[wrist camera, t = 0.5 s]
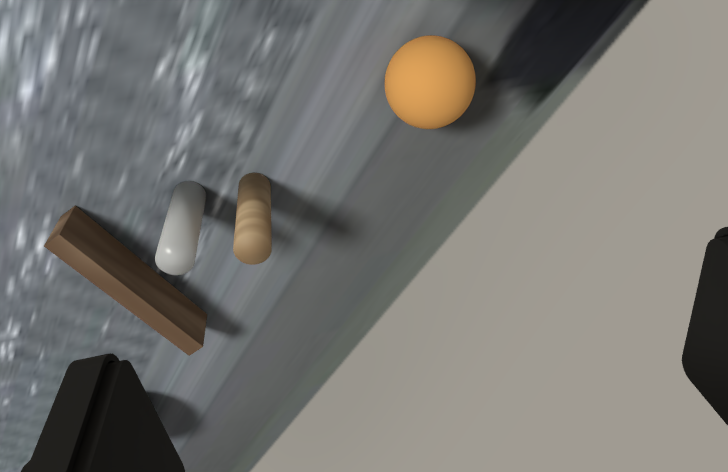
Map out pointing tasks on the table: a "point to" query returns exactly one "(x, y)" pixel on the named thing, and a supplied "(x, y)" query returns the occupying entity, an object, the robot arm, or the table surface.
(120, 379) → the robot arm
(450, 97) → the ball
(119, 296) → the brown wooden plank
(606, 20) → the table surface
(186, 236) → the grey pin
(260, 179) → the maple pin
